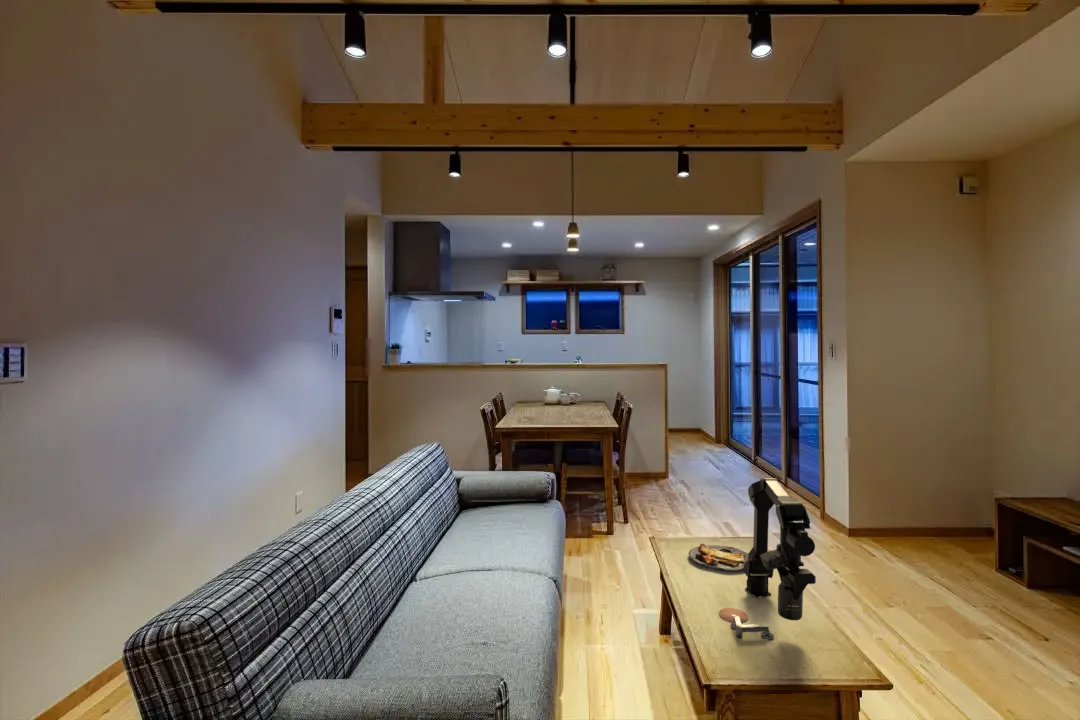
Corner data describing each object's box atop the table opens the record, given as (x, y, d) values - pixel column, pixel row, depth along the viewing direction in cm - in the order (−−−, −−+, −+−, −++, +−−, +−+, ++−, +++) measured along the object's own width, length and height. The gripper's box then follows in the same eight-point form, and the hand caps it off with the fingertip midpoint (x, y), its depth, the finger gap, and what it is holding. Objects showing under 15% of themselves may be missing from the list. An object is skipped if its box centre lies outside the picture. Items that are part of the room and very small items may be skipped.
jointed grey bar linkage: (753, 621, 177) (753, 610, 177) (776, 639, 167) (776, 627, 167) (723, 626, 174) (723, 615, 174) (744, 644, 164) (744, 632, 164)
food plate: (680, 563, 224) (680, 554, 223) (699, 545, 243) (700, 537, 243) (744, 579, 209) (745, 570, 209) (759, 559, 229) (760, 551, 228)
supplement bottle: (792, 623, 163) (792, 583, 163) (772, 613, 169) (772, 574, 169) (807, 617, 167) (808, 578, 166) (788, 608, 173) (788, 569, 172)
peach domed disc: (737, 607, 186) (737, 606, 186) (754, 620, 178) (754, 619, 178) (713, 611, 184) (713, 610, 184) (729, 624, 175) (729, 623, 175)
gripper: (751, 532, 176) (751, 581, 177) (777, 555, 157) (777, 610, 158) (786, 532, 176) (786, 580, 177) (816, 555, 158) (816, 609, 158)
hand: (790, 594), depth 168 cm, fingers closed on supplement bottle, 7 cm apart
